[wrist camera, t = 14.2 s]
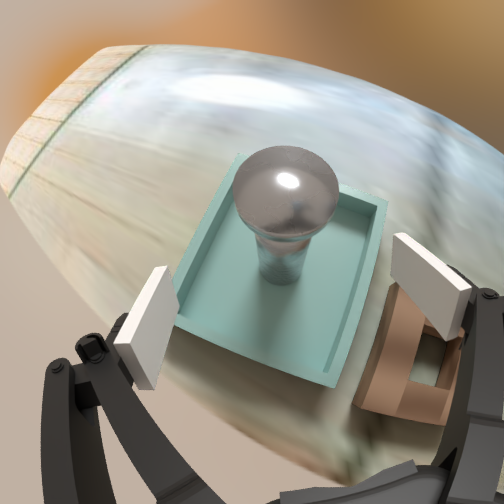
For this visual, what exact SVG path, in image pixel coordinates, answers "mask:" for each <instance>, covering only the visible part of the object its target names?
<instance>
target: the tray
mask: <svg viewBox="0 0 504 504" xmlns="http://www.w3.org/2000/svg"><path fill="white" fill-rule="evenodd" d="M248 157H250V156H248V155H244V154H240V153H238V154H237V156H236V158H235V160H234V162H233V163H232V165H231V167H230V169H229V170H228V172H227V174H226V176H225V178H224V179H223V181H222V183H221V185H220V187H219V189H218V190H217V192H216V194H215V196H214V198H213V200H212V201H211V203H210V205H209V207H208V209H207V211H206V213H205V215H204V217H203V219H202V220H201V222H200V224H199V226H198V228H197V230H196V232H195V234H194V236H193V238H192V240H191V242H190V244H189V246H188V248H187V250H186V252H185V254H184V256H183V258H182V260H181V262H180V264H179V266H178V268H177V270H176V272H175V274H174V276H173V279H172V283H173V286H174V289H175V293H176V296H177V299H178V302H179V305H180V307H179V310H178V313H177V316H176V319H175V322H174V325H175V326H177V327H179V328H182V329H184V330H186V331H188V332H190V333H192V334H194V335H196V336H199V337H201V338H203V339H205V340H207V341H210V342H212V343H214V344H216V345H219V346H221V347H223V348H226V349H228V350H230V351H233V352H235V353H237V354H240V355H242V356H245V357H247V358H250V359H252V360H255V361H257V362H260V363H262V364H265V365H268V366H270V367H273V368H275V369H278V370H281V371H284V372H286V373H289V374H292V375H295V376H298V377H300V378H303V379H306V380H309V381H312V382H315V383H318V384H321V385H324V386H328V387H331V388H334V389H335V386H336V384H337V381H338V379H339V376H340V374H341V371H342V369H343V366H344V363H345V360H346V358H347V355H348V352H349V349H350V346H351V344H352V341H353V338H354V335H355V332H356V329H357V326H358V322H359V319H360V316H361V313H362V310H363V306H364V303H365V299H366V296H367V292H368V289H369V285H370V281H371V278H372V274H373V270H374V266H375V262H376V258H377V254H378V249H379V245H380V241H381V236H382V231H383V227H384V222H385V217H386V211H387V206H388V201H386V200H384V199H381V198H379V197H376V196H373V195H371V194H368V193H365V192H363V191H360V190H357V189H355V188H352V187H349V186H346V185H343V184H340V183H338V184H339V199H338V203H337V206H336V209H335V211H334V214H333V216H332V218H331V220H330V222H329V223H328V224H327V226H326V227H325V228H324V229H323V230H322V231H321V232H319V233H318V234H316V235H315V236H313V237H312V239H311V242H310V245H309V249H308V252H307V256H306V259H305V262H304V265H303V269H302V272H301V274H300V276H299V277H298V279H297V280H296V281H294V282H293V283H291V284H289V285H285V286H278V285H274V284H271V283H270V282H268V281H267V280H266V279H265V278H264V277H263V275H262V274H261V271H260V266H259V259H258V253H257V246H256V239H255V233H254V232H253V231H251V230H250V229H249V228H248V227H247V226H246V225H245V224H244V223H243V221H242V220H241V218H240V217H239V215H238V212H237V210H236V206H235V202H234V198H233V190H232V186H233V180H234V177H235V174H236V172H237V170H238V169H239V167H240V166H241V164H242V163H243V162H244V161H245V160H246V159H247V158H248Z"/></svg>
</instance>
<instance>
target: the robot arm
mask: <svg viewBox="0 0 504 504" xmlns="http://www.w3.org/2000/svg"><path fill="white" fill-rule="evenodd" d="M390 275H391V276H392V278H393V279H394V280H395V281H396V282H397V283H398V284H399V285H400V287H401V288H402V289H403V290H404V291H405V292H406V293H407V295H408V296H409V297H410V298H411V299H412V300H413V302H414V303H415V304H416V305H417V306H418V308H419V309H420V310H421V311H422V312H423V314H424V315H425V316H426V317H427V319H428V320H429V321H430V322H431V323H432V325H433V326H434V327H435V328H436V330H437V331H438V332H439V333H440V335H441V336H442V337H443V339H444V340H445V341H448V340H451V339H454V338H456V337H458V334H459V331H460V328H461V327H462V328H463V329H464V331H465V333H464V336H463V338H462V341H461V344H460V347H459V349H458V350H461V356H460V362H459V369H458V374H457V380H456V385H455V390H454V394H453V399H452V403H451V407H450V411H449V415H448V419H447V422H446V426H445V429H444V433H443V436H442V439H441V442H440V445H439V448H438V451H437V454H436V456H435V458H434V460H433V462H432V463H431V465H417V466H415V463H414V461H413V459H412V460H410V461H407V462H405V463H402V464H399V465H396V466H393V467H391V468H388V469H385V470H382V471H381V472H379V473H377V474H376V475H374V476H372V477H370V478H368V479H366V480H365V481H363V482H361V483H359V484H357V485H355V486H352V487H333V488H332V487H330V488H328V487H313V488H307V489H301V490H295V491H287V492H280V499H277V500H274V501H271V502H269V503H267V504H504V494H502V493H499V492H496V489H497V485H498V481H499V477H500V473H501V469H502V464H503V459H504V420H502V413H503V402H504V296H499V294H498V293H497V292H496V291H494V290H492V289H489V288H480V289H479V288H478V287H477V286H476V285H474V284H473V283H472V282H471V281H470V280H469V279H467V278H465V276H464V275H463V274H461V273H460V272H459V271H458V270H457V269H455V268H454V267H451V266H449V265H445V264H444V263H443V262H442V261H441V260H439V259H438V258H437V257H436V256H434V255H433V254H432V253H430V252H429V251H428V250H427V249H425V248H424V247H423V246H421V245H420V244H419V243H417V242H416V241H415V240H413V239H412V238H411V237H409V236H408V235H407V234H405V233H397V234H393V249H392V263H391V274H390ZM179 307H180V305H179V302H178V299H177V296H176V293H175V289H174V286H173V283H172V279H171V276H170V272H169V269H168V266H161V267H155V269H154V270H153V272H152V274H151V275H150V277H149V279H148V281H147V282H146V284H145V286H144V288H143V289H142V291H141V293H140V295H139V296H138V298H137V300H136V302H135V304H134V305H133V307H132V309H131V311H130V313H124V314H122V315H121V316H120V317H119V318H118V319H117V320H116V322H115V324H114V326H113V327H112V329H111V331H110V333H109V335H108V336H107V338H106V340H105V341H104V339H103V337H102V335H100V334H99V333H90V334H88V335H85V336H83V337H82V338H80V340H79V341H78V342H77V343H76V345H75V350H76V352H77V354H78V355H79V357H80V358H81V360H82V362H83V363H81V364H77V365H73V366H72V365H71V364H70V362H69V360H67V359H66V358H58V359H56V360H54V361H53V362H51V363H50V364H49V366H48V367H47V369H46V373H45V381H44V391H43V401H42V416H41V472H42V486H43V496H44V504H116V500H115V497H114V493H113V489H112V485H111V481H110V477H109V473H108V469H107V464H106V459H105V454H104V449H103V444H102V438H101V432H100V426H99V419H98V412H97V406H102V407H103V410H104V412H105V414H106V416H107V418H108V420H109V422H110V424H111V426H112V428H113V430H114V432H115V434H116V435H117V437H118V439H119V441H120V443H121V445H122V446H123V448H124V450H125V452H126V453H127V454H128V457H129V458H130V460H131V462H132V463H133V465H134V466H135V468H136V470H137V471H138V472H139V474H140V476H141V477H142V479H143V480H144V482H145V483H146V485H147V486H148V488H149V489H150V490H151V492H152V493H153V495H154V496H155V498H156V500H157V502H156V503H157V504H226V503H225V502H224V501H223V500H222V499H221V498H220V497H219V496H218V495H217V494H216V493H215V492H214V491H213V490H212V489H211V488H210V487H209V486H208V485H207V484H206V483H205V482H204V481H203V480H202V479H201V478H200V477H199V476H198V475H197V473H195V471H194V470H193V469H192V468H191V467H190V466H189V465H188V463H187V462H186V461H185V460H184V459H183V457H182V456H181V455H180V454H179V453H178V451H177V450H176V449H175V448H174V447H173V445H172V444H171V443H170V442H169V440H168V439H167V437H166V436H165V435H164V434H163V432H162V431H161V430H160V428H159V427H158V426H157V424H156V423H155V422H154V420H153V419H152V417H151V416H150V414H149V413H148V412H147V410H146V409H145V407H144V406H143V404H142V403H141V401H140V400H139V398H138V397H137V395H136V394H135V392H134V391H133V389H132V385H133V382H135V384H136V385H137V387H138V389H139V390H155V386H156V383H157V379H158V376H159V372H160V369H161V365H162V362H163V358H164V355H165V352H166V348H167V345H168V342H169V339H170V335H171V332H172V329H173V326H174V322H175V319H176V316H177V313H178V310H179ZM461 347H462V348H461Z"/></svg>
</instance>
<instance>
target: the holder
mask: <svg viewBox="0 0 504 504" xmlns="http://www.w3.org/2000/svg"><path fill="white" fill-rule="evenodd" d="M422 332H423V333H426V334H429V335H432V336H435V337H438V338H441V339H443V337H442V336H441V335H440V333H439V332H438V331H437V330H436V328H435V327H434V326H433V325H432V323H431V322H430V321H429V320H428V319H427V317H426V316H425V315H424V314H423V312H422V311H421V310H420V309H419V308H418V306H417V305H416V304H415V303H414V302H413V300H412V299H411V298H410V297H409V296H408V295H407V293H406V292H405V291H404V290H403V289H402V288H401V287H400V285H399V284H398V283H397V282H395V283H394V284H392V285H391V286H390V287H389V291H388V295H387V299H386V303H385V307H384V310H383V314H382V317H381V321H380V324H379V328H378V331H377V334H376V337H375V341H374V344H373V347H372V350H371V353H370V356H369V359H368V362H367V365H366V367H365V370H364V373H363V376H362V378H361V381H360V384H359V386H358V389H357V391H356V394H355V396H354V399H353V401H352V404H354V405H356V406H357V407H359V408H361V409H365V410H369V411H373V412H377V413H381V414H386V415H390V416H394V417H399V418H404V419H409V420H414V421H419V422H424V423H430V424H436V425H442V426H446V422H447V419H448V415H449V411H450V407H451V403H452V399H453V394H454V390H455V385H456V380H457V374H458V369H459V362H460V356H461V350H458V349H459V347H460V344H461V341H462V338H463V336H464V333H465V331H464V329H463V328H462V327H461V328H460V331H459V334H458V337H456V338H454V339H451V340H448V343H447V347H446V351H445V355H444V359H443V363H442V366H441V370H440V373H439V377H438V380H437V383H436V386H435V387H433V386H429V385H425V384H421V383H417V382H413V381H410V380H408V378H409V375H410V372H411V369H412V366H413V362H414V359H415V356H416V352H417V349H418V345H419V341H420V338H421V334H422ZM461 348H462V347H461Z"/></svg>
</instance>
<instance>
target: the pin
mask: <svg viewBox="0 0 504 504" xmlns="http://www.w3.org/2000/svg"><path fill="white" fill-rule="evenodd" d="M232 190H233V198H234V202H235V206H236V210H237V212H238V215H239V217H240V218H241V220H242V221H243V223H244V224H245V225H246V226H247V227H248V228H249V229H250V230H251V231H253V232H254V233H255V239H256V246H257V253H258V259H259V266H260V271H261V274H262V275H263V277H264V278H265V279H266V280H267V281H268V282H270V283H271V284H274V285H278V286H285V285H289V284H291V283H293V282H294V281H296V280H297V279H298V277H299V276H300V274H301V272H302V269H303V265H304V262H305V259H306V256H307V252H308V249H309V245H310V242H311V239H312V237H313V236H315V235H316V234H318V233H319V232H321V231H322V230H323V229H324V228H325V227H326V226H327V224H328V223H329V222H330V220H331V218H332V216H333V214H334V211H335V209H336V206H337V203H338V199H339V184H338V181H337V178H336V175H335V173H334V172H333V170H332V168H331V167H330V166H329V165H328V164H327V163H326V162H325V161H324V160H323V159H322V158H321V157H319V156H318V155H316V154H314V153H313V152H310V151H308V150H305V149H303V148H299V147H293V146H275V147H270V148H266V149H263V150H261V151H258V152H256V153H254V154H253V155H251V156H250V157H248V158H247V159H246V160H245V161H244V162H243V163H242V164H241V166H240V167H239V169H238V170H237V172H236V174H235V177H234V180H233V186H232Z"/></svg>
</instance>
